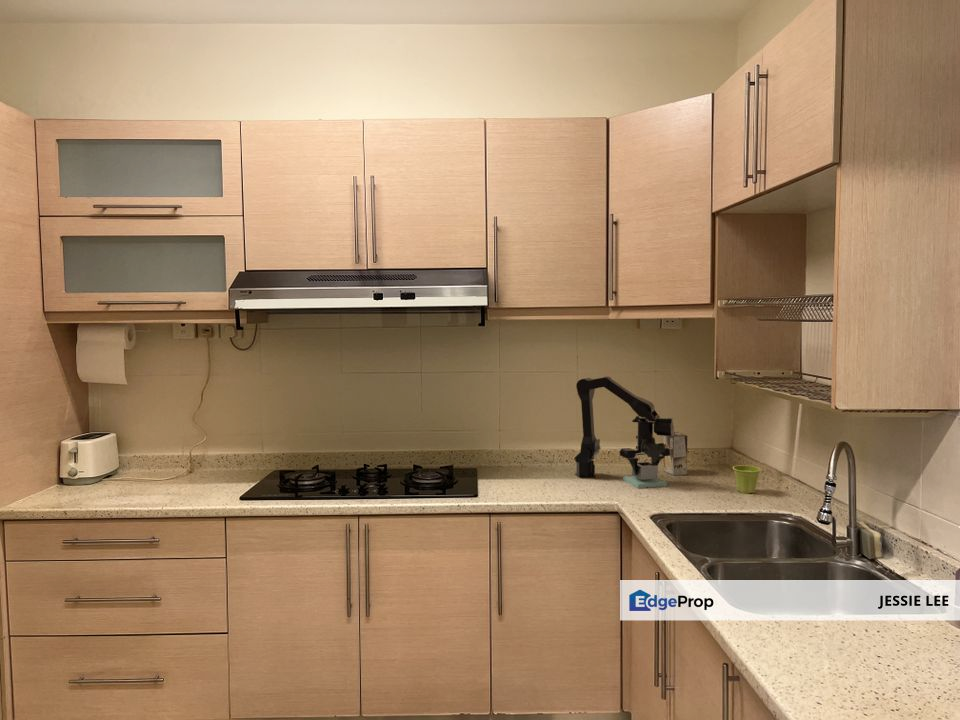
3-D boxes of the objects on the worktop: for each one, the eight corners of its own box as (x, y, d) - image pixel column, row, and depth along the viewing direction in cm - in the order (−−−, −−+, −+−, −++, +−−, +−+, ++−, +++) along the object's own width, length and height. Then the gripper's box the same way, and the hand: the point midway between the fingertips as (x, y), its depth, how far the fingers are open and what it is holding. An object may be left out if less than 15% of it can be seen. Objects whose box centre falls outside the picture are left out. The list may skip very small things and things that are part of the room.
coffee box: (687, 474, 253) (688, 435, 252) (673, 475, 252) (673, 436, 251) (676, 469, 262) (677, 431, 261) (662, 470, 261) (663, 432, 260)
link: (640, 479, 236) (640, 466, 236) (632, 475, 243) (632, 462, 243) (657, 478, 238) (657, 465, 238) (648, 473, 245) (648, 461, 244)
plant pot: (757, 496, 222) (758, 472, 221) (729, 492, 227) (730, 469, 226) (762, 490, 229) (762, 467, 229) (734, 486, 235) (735, 464, 234)
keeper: (637, 488, 234) (638, 473, 233) (623, 480, 245) (623, 466, 245) (666, 486, 236) (667, 471, 236) (651, 478, 248) (651, 464, 248)
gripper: (632, 439, 230) (632, 481, 231) (678, 436, 234) (677, 477, 235) (619, 433, 240) (618, 473, 241) (663, 431, 245) (662, 470, 246)
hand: (644, 474), depth 241 cm, fingers closed on link, 7 cm apart
